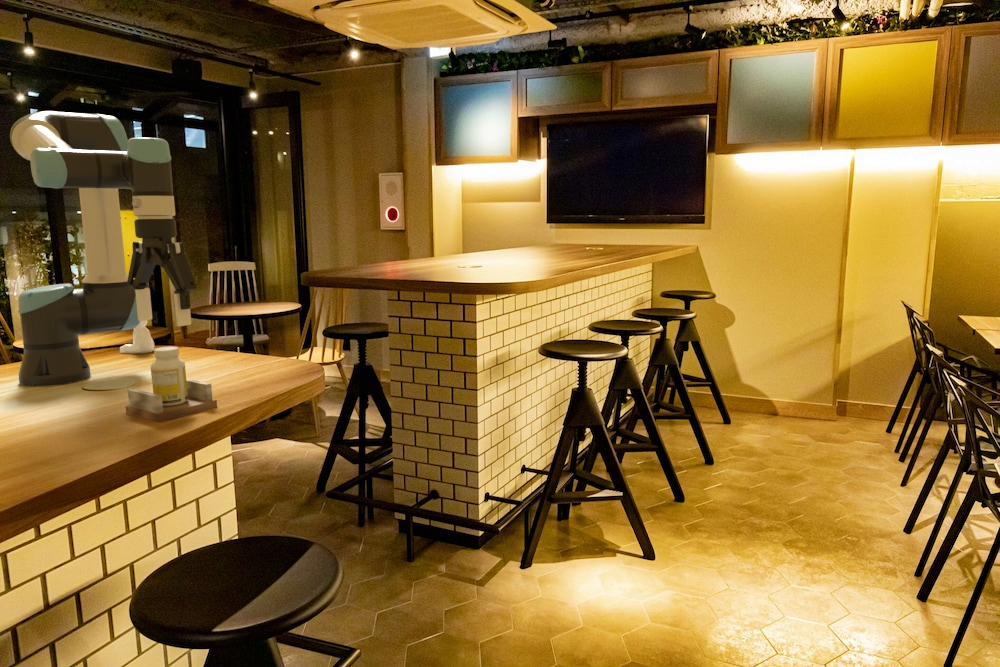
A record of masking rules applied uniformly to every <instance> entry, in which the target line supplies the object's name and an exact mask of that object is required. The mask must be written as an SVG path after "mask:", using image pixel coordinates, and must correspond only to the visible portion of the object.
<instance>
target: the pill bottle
mask: <svg viewBox="0 0 1000 667" xmlns="http://www.w3.org/2000/svg"><path fill="white" fill-rule="evenodd" d="M153 355H154V357H155V360H153V361H152V362H151V363H150V375H151V382H152V383H151V385H152V393H154V394H158V395H162V404H163V406H174V405H179V404H182V403H185V402H186V401H187V400H188V392H187V381H186V379H187V372H186V364H185V361H184V360H183V359H182V358H179V355H180V349H179V347H178V346H162V347H157V348H154V350H153Z"/></svg>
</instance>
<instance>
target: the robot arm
mask: <svg viewBox="0 0 1000 667" xmlns="http://www.w3.org/2000/svg"><path fill="white" fill-rule="evenodd" d="M9 139H10V143H11V146H12V147H13V149H14V151H16V153H17V154H18V155H19V156H20V157H22V158H23V159H26V160H27V161H30V162H29V163H30V169H31V170H30V171H31V176H32V178H33V182H34V184H35V185H36V186H37V187H39V188H49V189H50V188H51V189H58V190H60V189H78V193H79V201H80V212H81V220H82V222H81V223H82V231H83V241H84V250H85V260H86V270H87V273H86V275H85V277H83V278H82V280H81V287H80V288H74V285H73V284H72V283H69V282H68V283H58V284H51V285H44V286H38V287H35V288H30V289H26V290H24V291H22V292H20V294H19V296H18V298H17V299H18V300H17V301H18V302H17V303H18V311H17V312H18V314H19V317H20V318H19V319H20V327H21V335H22V336H21V337H22V344H23V355H22V360H21V364H20V367H19V372H18V382H19V385H20V386H24V387H50V386H59V385H65V384H72V383H77V382H80V381H84V380H87V379H89V378H90V377H91V376H92V375H91V373H92V372H91V367H90V365H89V363H88V361H87V358H86V357H85V356H84V355H85V354H84V353H83V351H82V349H81V347H80V339H79V336H82V335H83V336H84V335H92V334H93V335H94V334H102V333H111V332H117V333H119V332H120V333H121V332H122V331H127V330H128V331H129V330H133V329H134V328H136V327H137V326H138V325H139V323H140V321H143V320H147V321H149V320H153V310H152V309H153V308H152V300H151V289H150V287H151V286H150V285H149V282H150V280H151V277H152V274H153V272H154V270H155V267H156V266H157V265H158V266H159V267H161V268H162V269H163V270H164V272H165V273H166V275H167V277H168V279H169V280H170V282H171V284H172V285H173V287H174V289H175V290H174V292H173V296H174V308H175V309H174V310H175V319H176V320H175V321H176V327H184V326H190V325H192V317H191V316H192V315H191V314H192V313H191V296H190V294H191V292H192V291H193V290H194V291H195V290H197V284H196V281H195V278H194V276H193V273H192V271H191V267H190V264H189V262H188V259H187V256H186V254H185V248H184V244H183V242H173V240H172V239H173V238H176V236H178V231H177V221H176V220H175V218H173V217H174V216H176V206H175V196H174V187H173V174H172V162H171V161H172V155H171V150H170V145H169V143H168V141H167V140H165V139H164V138H159V137H131V138H129V139H128V137H127V132H126V130H125V128H124V125H123V124H122V122H121V121H120V120H119V119H118V118H117V117H116V116H113V115H106V114H100V113H87V112H86V113H85V112H84V113H83V112H82V113H81V112H65V111H55V110H43V111H36V112H32V113H29V114H26V115H25V116H22V117H20V118H19V119H17V121H15V122H14V123H13V125H12V127H11V129H10V134H9ZM120 189H122V190H123V189H126V190H131V196H132V201H131V204H132V207H133V216H135V217H137V219H134V221H133V222H134V232H135V233H134V234H135V237H136V238H138V239H142V240H141V241H132V255H131V259H130V263H129V270H128V272H127V271H126V270H127V269H126V260H125V249H124V237H123V229H122V216H121V206H120V196H119V190H120Z"/></svg>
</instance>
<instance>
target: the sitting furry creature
mask: <svg viewBox="0 0 1000 667" xmlns="http://www.w3.org/2000/svg"><path fill="white" fill-rule="evenodd" d="M147 324H148V320H143V321H140V323H139V325H138V326H137V327H136V328H134V329H132V330H133V331H132V336H131V337H132V343H128V344H124V345H122V346H120V347H119V352H120V353H121V354H148V353H152V352H154V349H155V342H154V339H153V338H152V336H151V331H150V330H149V329H148V328H147Z"/></svg>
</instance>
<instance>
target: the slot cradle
mask: <svg viewBox="0 0 1000 667" xmlns="http://www.w3.org/2000/svg"><path fill="white" fill-rule="evenodd" d="M186 381H187V392H188V400H187V401H186V402H185V403H182V404H179V405H174V406H163V404H162V395H158V394H154V393H153V392H150V391H144V390H139V389H136V388H131V389H127V394H128V404H129V405H126V406H125V407H124V408H125V413H126V414H128V415H132V416H136V417H139V418H142V417H143V418H142V419H147V420H151V421H154V422H157V421H158V423H162V422H166V421H170V420H173V419H176V418H180V417H185V416H189V415H191V414H196V413H198V412H199V413H200V412H203V411H207V410H210V409H213V408H217V407H218V400H217V399H214V398H213V389H212V388H213V387H212V383H211V382H205V381H200V380H195V379H190V378H186ZM161 421H162V422H161Z"/></svg>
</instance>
